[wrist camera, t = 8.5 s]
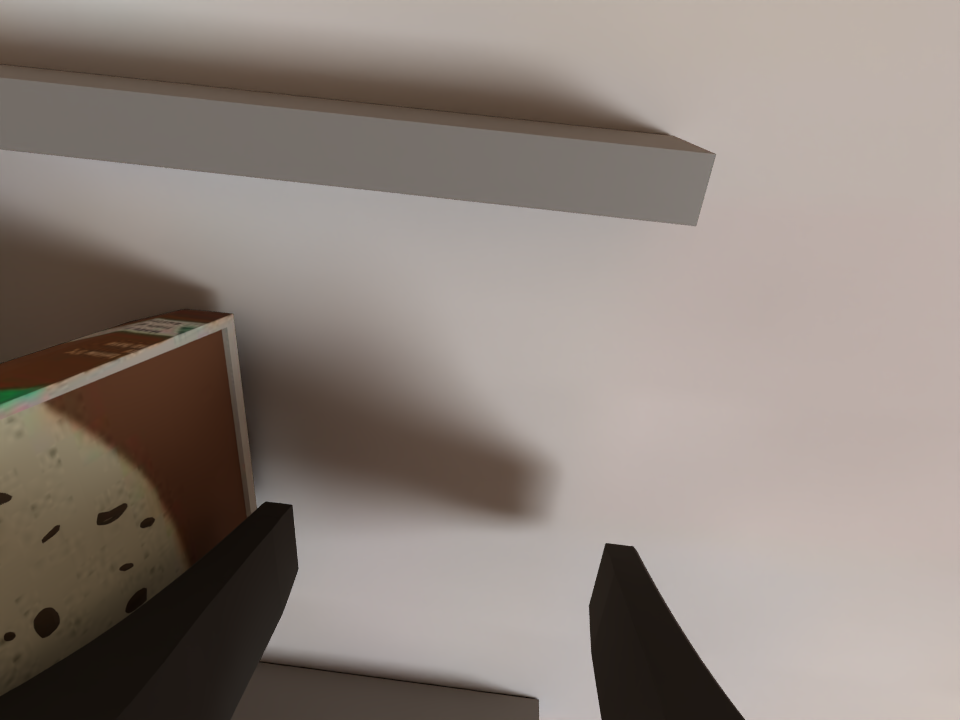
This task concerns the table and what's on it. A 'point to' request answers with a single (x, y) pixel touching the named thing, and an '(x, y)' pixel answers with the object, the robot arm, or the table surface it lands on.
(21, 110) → the dock
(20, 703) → the robot arm
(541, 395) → the table surface
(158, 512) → the food container
